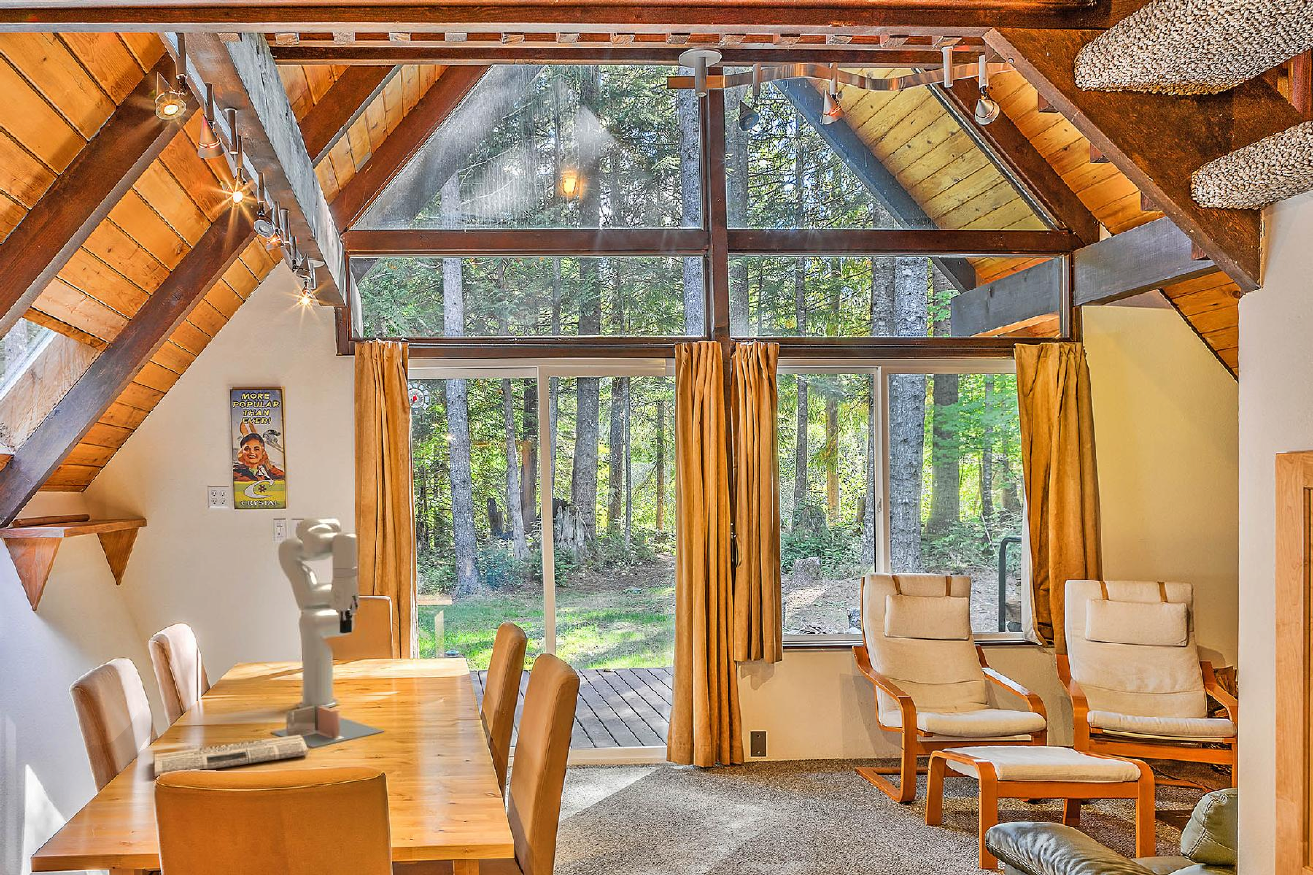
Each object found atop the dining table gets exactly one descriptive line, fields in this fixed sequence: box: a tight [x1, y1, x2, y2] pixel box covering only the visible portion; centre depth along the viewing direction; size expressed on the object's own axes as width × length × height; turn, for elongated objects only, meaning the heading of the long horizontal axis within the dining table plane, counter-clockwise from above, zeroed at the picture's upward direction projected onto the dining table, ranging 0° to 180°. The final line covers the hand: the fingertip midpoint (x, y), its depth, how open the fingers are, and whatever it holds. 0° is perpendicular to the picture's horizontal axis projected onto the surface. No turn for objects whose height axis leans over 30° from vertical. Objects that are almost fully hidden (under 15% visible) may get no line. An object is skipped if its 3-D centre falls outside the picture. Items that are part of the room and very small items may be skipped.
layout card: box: [270, 716, 385, 749], centre depth 296 cm, size 26×24×1 cm
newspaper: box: [154, 735, 309, 778], centre depth 270 cm, size 37×19×3 cm, turn 117°
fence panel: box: [315, 705, 340, 737], centre depth 292 cm, size 13×2×7 cm, turn 44°
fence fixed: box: [285, 707, 315, 737], centre depth 292 cm, size 2×8×8 cm, turn 136°
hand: (345, 632), depth 311 cm, fingers closed
